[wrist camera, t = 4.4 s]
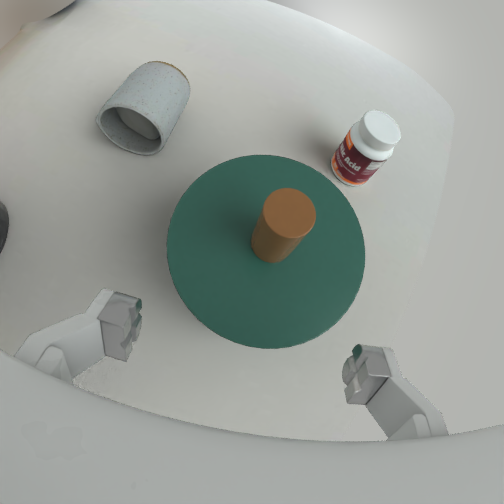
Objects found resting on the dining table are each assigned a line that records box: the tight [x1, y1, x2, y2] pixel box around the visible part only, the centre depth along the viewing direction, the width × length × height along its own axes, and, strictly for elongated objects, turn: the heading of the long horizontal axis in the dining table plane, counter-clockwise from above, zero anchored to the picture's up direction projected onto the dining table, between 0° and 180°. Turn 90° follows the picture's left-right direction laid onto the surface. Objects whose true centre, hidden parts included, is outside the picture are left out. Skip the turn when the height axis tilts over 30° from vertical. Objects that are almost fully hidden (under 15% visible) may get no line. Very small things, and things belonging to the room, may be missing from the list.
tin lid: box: [167, 155, 365, 349], centre depth 17 cm, size 13×13×6 cm
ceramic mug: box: [96, 61, 190, 155], centre depth 27 cm, size 11×8×8 cm
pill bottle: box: [331, 110, 401, 186], centre depth 28 cm, size 5×5×8 cm
